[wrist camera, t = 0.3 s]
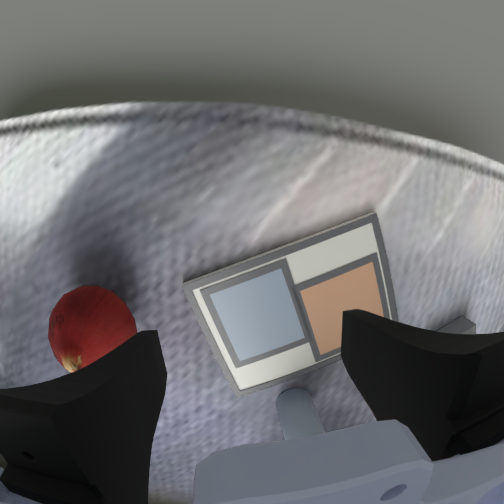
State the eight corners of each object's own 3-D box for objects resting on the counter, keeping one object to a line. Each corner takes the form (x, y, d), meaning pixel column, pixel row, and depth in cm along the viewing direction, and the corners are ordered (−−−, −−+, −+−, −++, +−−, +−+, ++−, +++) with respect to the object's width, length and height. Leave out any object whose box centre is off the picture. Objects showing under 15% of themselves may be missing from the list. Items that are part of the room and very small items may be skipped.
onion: (86, 343, 21) (42, 404, 13) (69, 273, 20) (8, 316, 12) (154, 343, 22) (128, 413, 14) (140, 269, 20) (99, 317, 13)
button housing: (461, 354, 25) (474, 365, 23) (424, 378, 25) (435, 390, 23) (462, 315, 24) (476, 324, 22) (422, 338, 24) (435, 350, 22)
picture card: (395, 328, 23) (399, 332, 23) (236, 392, 23) (236, 397, 22) (371, 212, 21) (376, 213, 20) (182, 282, 21) (181, 286, 20)
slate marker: (314, 406, 24) (337, 464, 17) (281, 418, 24) (297, 478, 17) (306, 382, 24) (330, 442, 17) (271, 395, 24) (286, 457, 17)
